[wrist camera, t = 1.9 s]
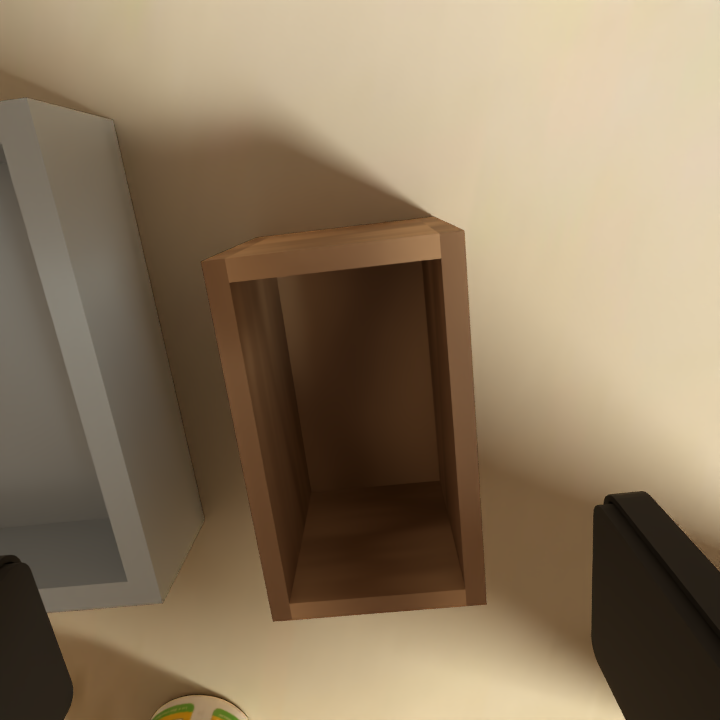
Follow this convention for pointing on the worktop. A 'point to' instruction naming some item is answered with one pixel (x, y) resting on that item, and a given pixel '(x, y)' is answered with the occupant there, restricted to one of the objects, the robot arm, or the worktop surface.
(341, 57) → the worktop surface
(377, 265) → the walnut crate
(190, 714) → the supplement bottle
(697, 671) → the robot arm
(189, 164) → the worktop surface
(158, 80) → the worktop surface
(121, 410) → the grey crate
